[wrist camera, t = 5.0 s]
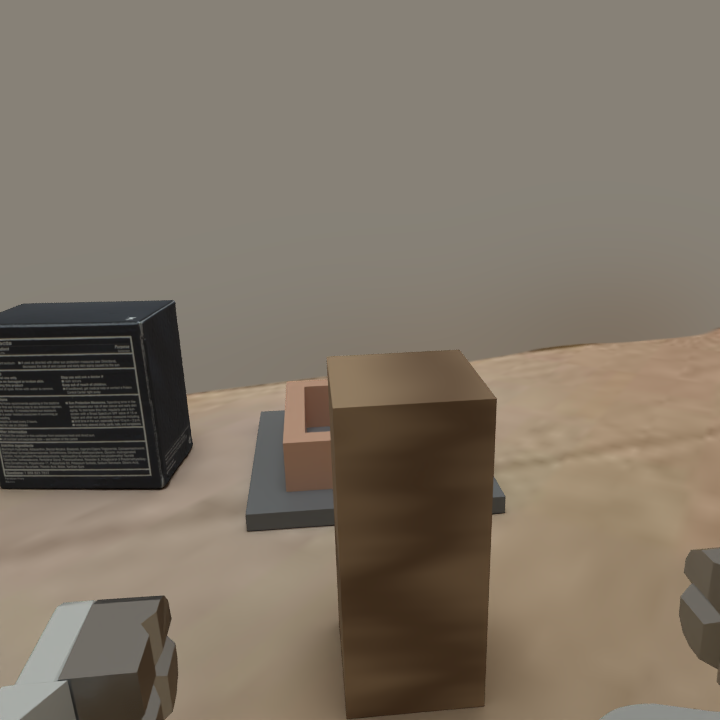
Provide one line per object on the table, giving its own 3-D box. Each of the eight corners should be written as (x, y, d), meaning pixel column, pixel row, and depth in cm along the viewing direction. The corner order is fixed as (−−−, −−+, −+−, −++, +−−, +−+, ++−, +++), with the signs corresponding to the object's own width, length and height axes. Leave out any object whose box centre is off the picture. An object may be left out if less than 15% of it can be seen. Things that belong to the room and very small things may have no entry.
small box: (197, 443, 45) (180, 295, 42) (166, 491, 39) (142, 322, 36) (50, 443, 46) (21, 298, 43) (-4, 490, 40) (-42, 325, 37)
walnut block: (346, 718, 23) (332, 408, 20) (339, 622, 28) (326, 356, 24) (484, 706, 24) (496, 398, 20) (453, 612, 28) (459, 349, 25)
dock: (247, 531, 35) (240, 463, 34) (262, 424, 48) (257, 373, 47) (504, 512, 36) (507, 446, 35) (449, 413, 49) (450, 362, 48)
